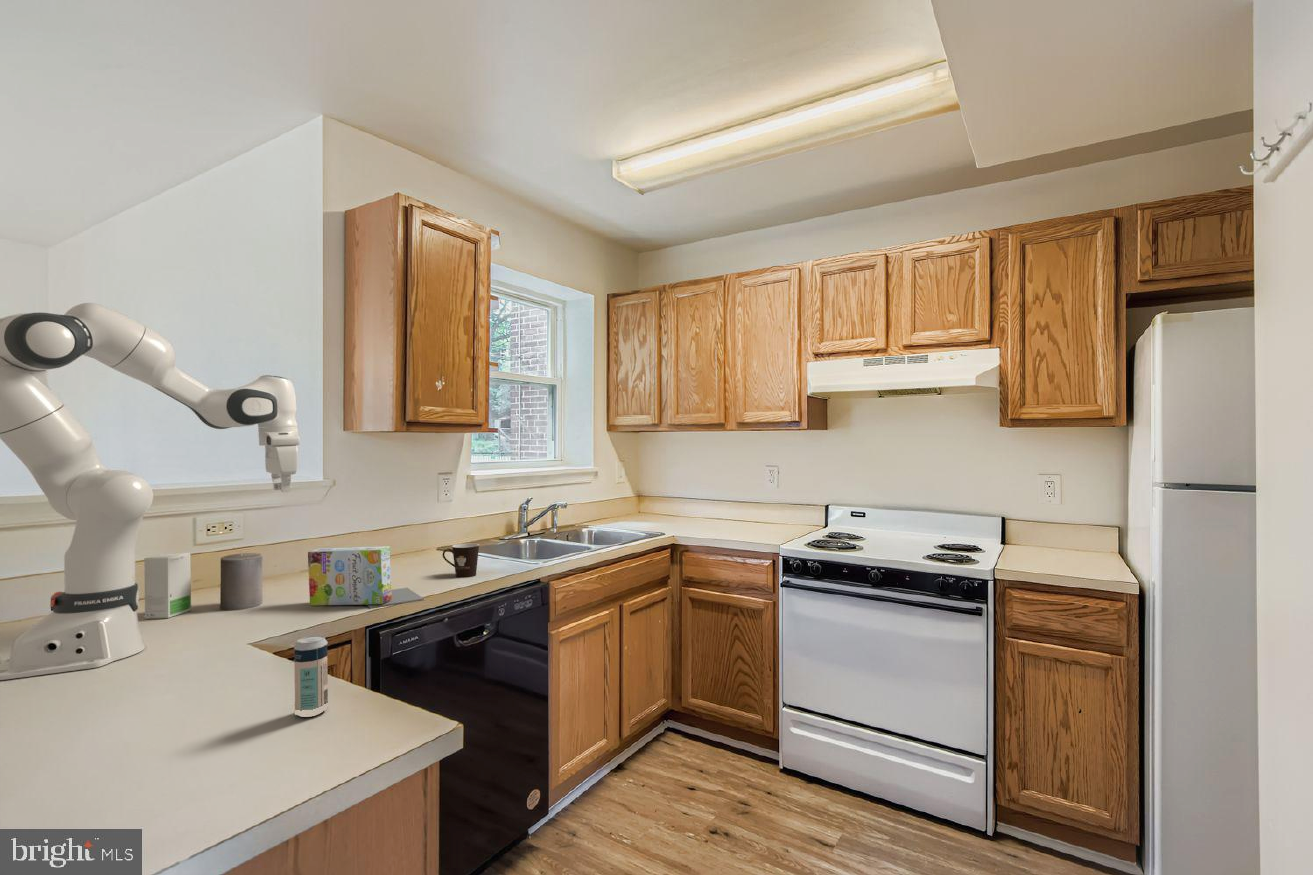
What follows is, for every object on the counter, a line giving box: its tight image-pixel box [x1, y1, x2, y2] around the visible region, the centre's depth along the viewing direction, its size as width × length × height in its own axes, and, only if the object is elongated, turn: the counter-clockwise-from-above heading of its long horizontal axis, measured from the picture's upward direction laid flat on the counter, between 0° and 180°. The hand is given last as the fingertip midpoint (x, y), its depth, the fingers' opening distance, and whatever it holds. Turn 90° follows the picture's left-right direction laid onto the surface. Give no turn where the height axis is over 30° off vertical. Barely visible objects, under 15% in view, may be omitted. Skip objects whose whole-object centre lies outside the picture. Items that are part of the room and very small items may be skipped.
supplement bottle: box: [293, 634, 329, 711], centre depth 99 cm, size 5×5×12 cm
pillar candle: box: [219, 550, 263, 611], centre depth 168 cm, size 10×10×15 cm
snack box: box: [307, 545, 392, 607], centre depth 168 cm, size 21×6×15 cm, turn 84°
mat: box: [366, 587, 425, 609], centre depth 174 cm, size 14×17×1 cm
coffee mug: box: [442, 542, 480, 579], centre depth 204 cm, size 12×9×10 cm
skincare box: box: [143, 552, 192, 620], centre depth 160 cm, size 8×7×16 cm
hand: (281, 490), depth 161 cm, fingers open, 8 cm apart
